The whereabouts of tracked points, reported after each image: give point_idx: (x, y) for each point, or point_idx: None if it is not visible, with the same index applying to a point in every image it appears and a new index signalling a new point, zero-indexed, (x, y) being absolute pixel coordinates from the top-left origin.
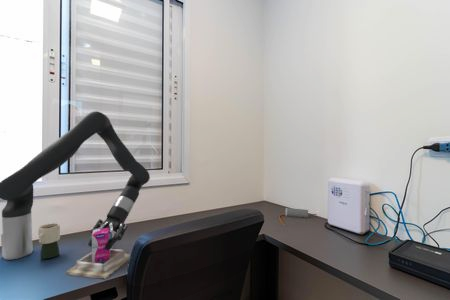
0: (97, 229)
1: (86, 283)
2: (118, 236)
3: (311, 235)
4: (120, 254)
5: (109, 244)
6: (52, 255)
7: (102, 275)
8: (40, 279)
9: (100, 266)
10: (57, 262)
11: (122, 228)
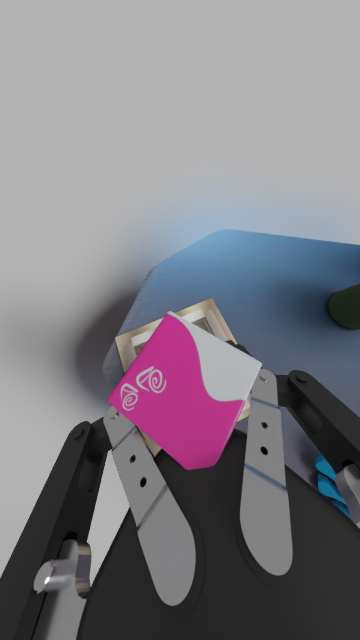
0: (238, 383)
1: (139, 309)
2: (70, 441)
3: None
4: None
5: None
6: (333, 306)
7: (123, 335)
8: (231, 267)
9: (133, 337)
10: (290, 309)
11: (17, 555)
